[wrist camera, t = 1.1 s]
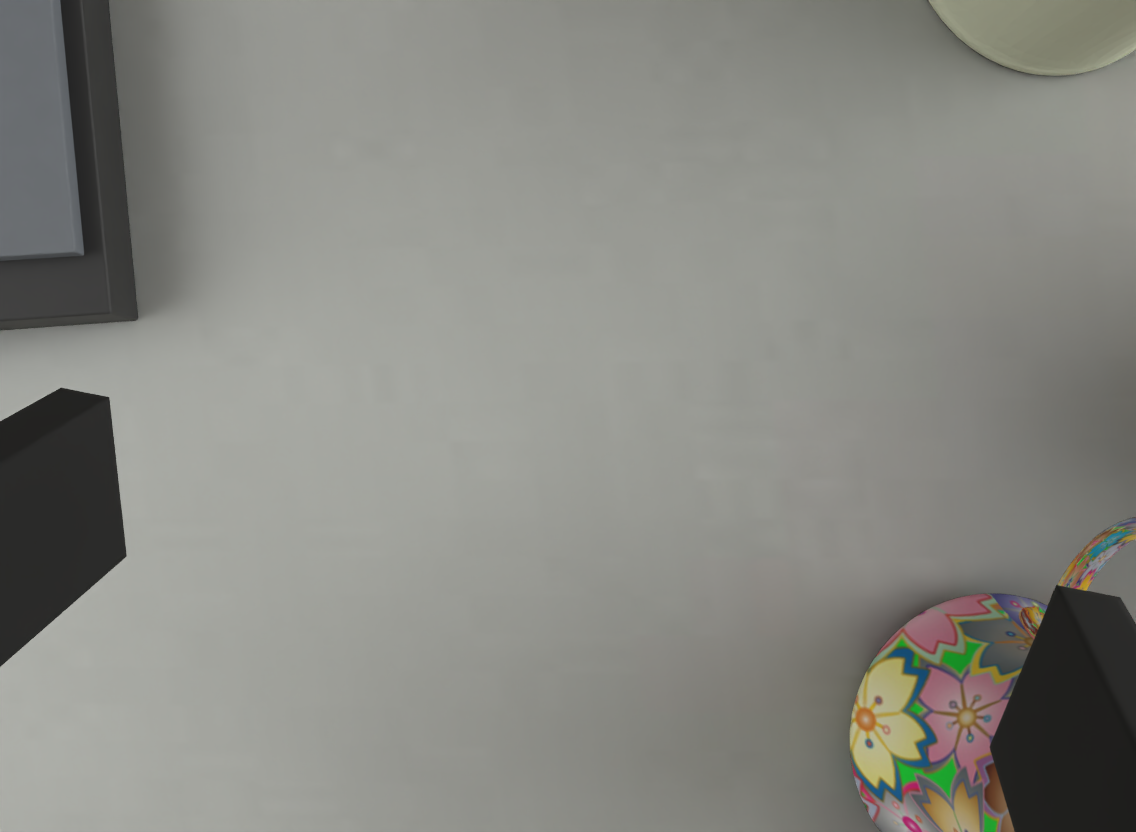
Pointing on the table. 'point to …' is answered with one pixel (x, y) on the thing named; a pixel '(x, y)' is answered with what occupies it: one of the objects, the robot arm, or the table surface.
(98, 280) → the kitchen scale
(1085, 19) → the can
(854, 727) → the mug
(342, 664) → the table surface
